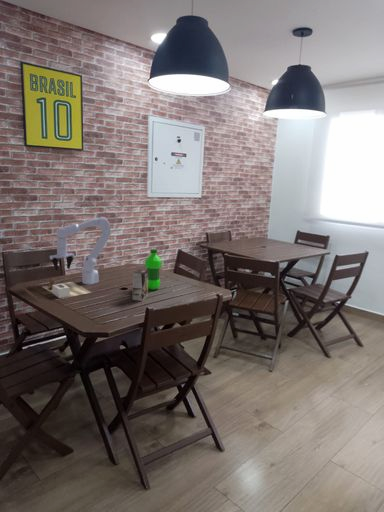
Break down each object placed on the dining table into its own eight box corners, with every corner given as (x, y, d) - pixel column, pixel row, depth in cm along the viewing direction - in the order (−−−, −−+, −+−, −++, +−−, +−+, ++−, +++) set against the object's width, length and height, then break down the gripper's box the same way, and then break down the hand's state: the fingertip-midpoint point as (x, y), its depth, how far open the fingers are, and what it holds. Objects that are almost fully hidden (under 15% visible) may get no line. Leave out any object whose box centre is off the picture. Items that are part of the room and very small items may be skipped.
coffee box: (142, 301, 206) (143, 273, 203) (132, 299, 208) (132, 272, 204) (148, 296, 215) (148, 269, 212) (137, 295, 216) (138, 268, 213)
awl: (54, 289, 219) (53, 278, 217) (56, 290, 216) (55, 280, 215) (48, 290, 217) (48, 279, 215) (50, 291, 214) (50, 281, 213)
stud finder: (63, 291, 211) (62, 282, 210) (69, 295, 205) (69, 286, 203) (52, 293, 207) (52, 284, 206) (59, 297, 201) (59, 288, 199)
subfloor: (72, 283, 232) (72, 281, 232) (91, 294, 213) (91, 292, 213) (42, 288, 219) (42, 286, 219) (60, 300, 201) (60, 298, 200)
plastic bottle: (147, 285, 236) (148, 247, 231) (162, 287, 234) (164, 248, 229) (142, 289, 227) (142, 250, 221) (158, 291, 225) (159, 251, 219)
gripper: (52, 249, 214) (53, 272, 217) (76, 247, 224) (76, 269, 227) (48, 247, 219) (48, 269, 222) (71, 245, 229) (71, 266, 232)
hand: (62, 269), depth 225 cm, fingers open, 7 cm apart
